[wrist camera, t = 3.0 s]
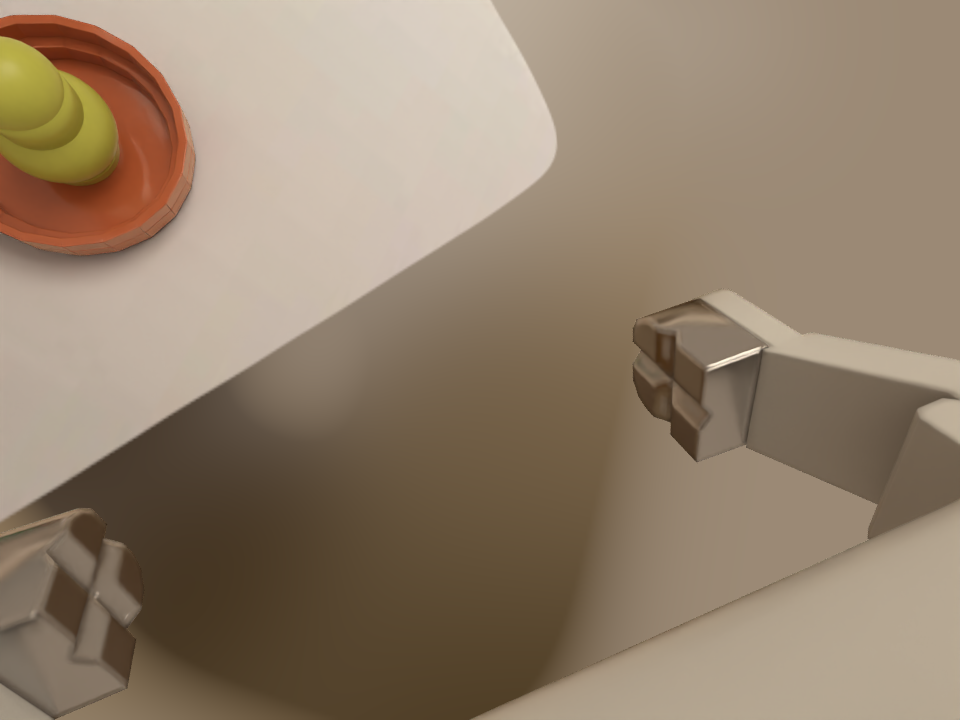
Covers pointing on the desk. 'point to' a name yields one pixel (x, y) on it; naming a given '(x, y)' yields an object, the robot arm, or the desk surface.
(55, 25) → the dish
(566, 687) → the robot arm
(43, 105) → the pear
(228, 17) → the desk surface
